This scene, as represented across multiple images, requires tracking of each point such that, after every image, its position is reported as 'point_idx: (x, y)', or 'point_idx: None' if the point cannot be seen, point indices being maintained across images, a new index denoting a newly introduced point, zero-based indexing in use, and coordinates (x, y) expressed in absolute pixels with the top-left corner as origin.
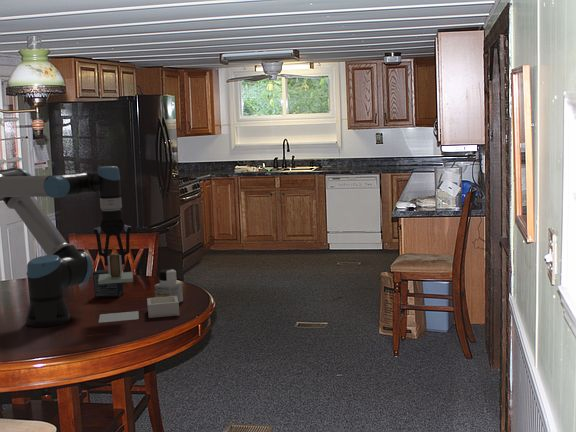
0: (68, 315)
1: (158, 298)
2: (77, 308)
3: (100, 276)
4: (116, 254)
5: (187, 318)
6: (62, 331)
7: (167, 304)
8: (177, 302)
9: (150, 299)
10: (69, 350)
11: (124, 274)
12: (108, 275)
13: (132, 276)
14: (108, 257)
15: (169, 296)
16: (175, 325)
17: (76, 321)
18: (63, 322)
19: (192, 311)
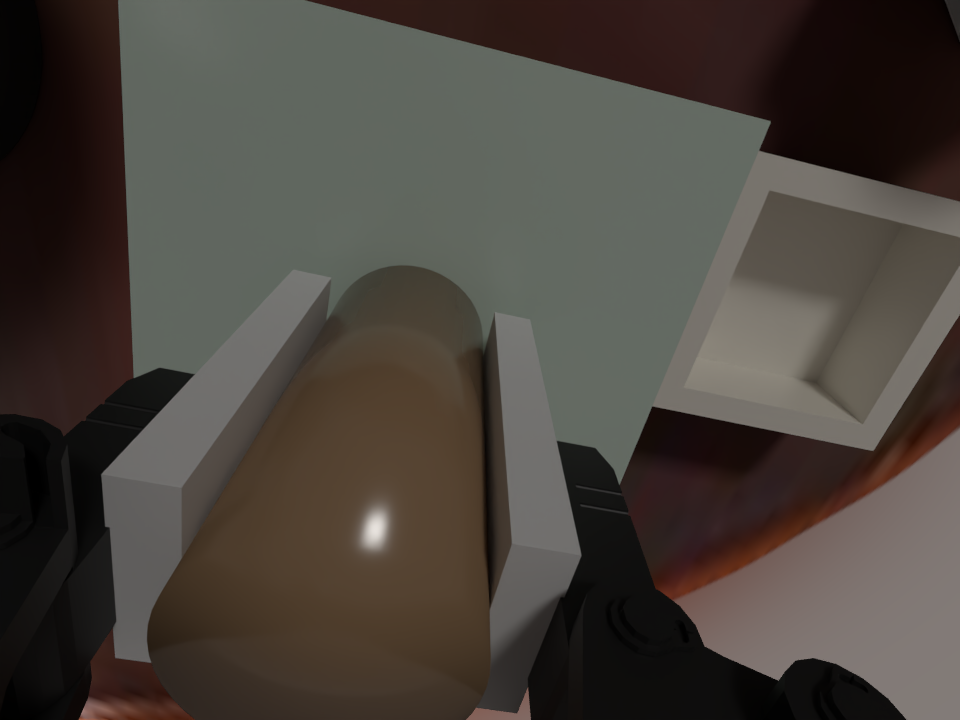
0: (4, 86)
1: (838, 206)
2: None
3: (155, 208)
4: (392, 693)
5: (817, 473)
6: (45, 358)
7: (787, 429)
8: (864, 448)
9: (753, 224)
10: (139, 669)
11: (566, 276)
12: (298, 201)
13: (618, 479)
14: (148, 660)
15: (951, 209)
16: (689, 561)
17: (110, 130)
18: (2, 155)
19: (950, 335)
